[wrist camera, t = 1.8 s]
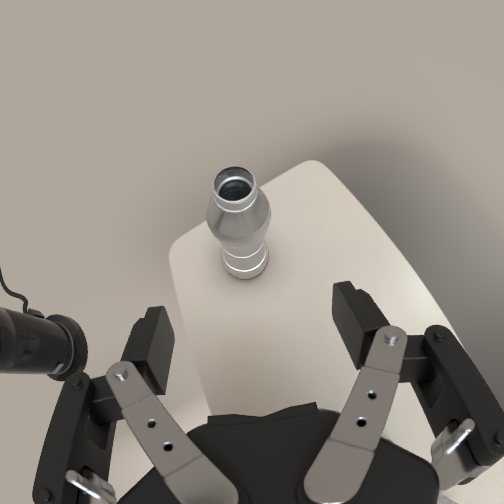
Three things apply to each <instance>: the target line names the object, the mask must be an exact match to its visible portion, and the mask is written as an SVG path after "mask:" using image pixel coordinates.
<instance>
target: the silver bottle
mask: <svg viewBox="0 0 504 504" xmlns="http://www.w3.org/2000/svg"><path fill="white" fill-rule="evenodd" d="M212 189H213V194H212V196H211V198H210V200H209V203H208V206H207V212H206V218H207V223H208V226H209V228H210V230H211V231H212V233H213V235H214V236H215V237H216V238H217V240H218V241H219V242H220V244H221V246H222V248H221V258H222V262H223V265H224V267H225V268H226V269H227V271H228V272H229V273H231V274H232V275H233V276H235V277H237V278H241V279H249V278H253V277H255V276H257V275H258V274H259V273H260V272H261V271H262V270H263V269H264V267H265V266H266V264H267V261H268V254H269V253H268V247H267V244H266V242H265V234H266V231H267V229H268V227H269V223H270V218H271V208H270V204H269V201H268V199H267V197H266V196H265V194H264V193H263V191H262V190H260V189H259V188H258V187H257V186H256V180H255V177H254V175H253V174H252V172H251V171H250V170H249V169H247V168H246V167H243V166H239V165H232V166H227V167H225V168H223V169H221V170H220V171H219V172H218V173H217V174H216V175H215V177H214V179H213V183H212Z"/></svg>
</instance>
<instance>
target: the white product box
mask: <svg viewBox="0 0 504 504" xmlns="http://www.w3.org/2000/svg"><path fill="white" fill-rule="evenodd" d="M437 504H457V503H455V502H453V501H452V500H450V499H449V498H447V497H446V496H444V495H442V494H439V495H438V500H437Z"/></svg>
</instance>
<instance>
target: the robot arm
mask: <svg viewBox="0 0 504 504" xmlns="http://www.w3.org/2000/svg"><path fill="white" fill-rule="evenodd" d="M0 282H1V285H2V287H3V289H4V290H5V291H6V293H8V294H9V295H11V296H13V297H16V298H19V299H21V300H23V302H24V304H23V313H20V312H16V311H12V310H9V309H5V308H1V307H0V373H8V374H57V375H58V374H64V373H66V372H68V371H69V370H70V369H71V367H72V365H73V363H74V360H75V353H76V349H75V342H74V338H73V336H72V334H71V332H70V330H69V329H68V328H67V327H66V326H65V325H64V324H63V323H61V322H57V321H50V320H47V319H44V318H45V317H44V316H43V314H42V313H41V312H39V311H36V310H33V309H28V312H27V305H28V301H27V299H26V298H25V297H24V296H23V295H21V294H17V293H15V292H12V291H10V290H9V289H8V288H7V286H6V285H5V283H4V281H3V278H2V274H1V269H0ZM332 316H333V320H334V323H335V325H336V327H337V329H338V331H339V333H340V335H341V337H342V339H343V342H344V344H345V346H346V348H347V350H348V352H349V354H350V357H351V359H352V361H353V363H354V365H355V368H356V370H359V369H361V370H360V372H359V375H358V377H357V379H356V382H355V384H354V386H353V389H352V391H351V393H350V395H349V398H348V400H347V402H346V404H345V406H344V408H343V410H342V413H339V412H336V411H332V410H326V409H318V408H317V405H316V402H313V403H308V404H303V405H298V406H292V407H288V408H285V409H283V410H280V411H278V412H275V413H272V414H269V415H267V416H263V417H257V416H246V415H237V414H229V415H216V416H208V423H207V424H204V425H201V426H198V427H196V428H194V429H192V430H191V431H189V432H188V433H187V434H185V433H184V431H183V430H182V429H181V428H180V427H179V425H178V424H177V423H176V422H175V420H174V419H173V418H172V417H171V415H170V414H169V413H168V411H167V410H166V409H165V407H164V406H163V405H162V403H161V402H160V401H159V399H158V398H157V397H156V396H157V395H165V392H166V386H167V380H168V374H169V369H170V363H171V358H172V352H173V347H174V340H175V338H174V332H173V328H172V326H171V323H170V320H169V317H168V314H167V311H166V309H165V307H164V306H157V307H149V308H148V309H147V312H146V315H145V317H144V318H140V319H139V320H138V321H137V322H136V323H135V324H134V325H133V328H132V331H131V335H130V336H129V338H128V341H127V344H126V346H125V349H124V352H123V355H122V357H121V360H120V362H117V363H115V364H114V365H112V366H111V367H110V368H109V369H108V371H107V373H106V375H105V376H101V377H97V378H93V379H90V377H89V376H88V375H87V374H86V373H84V372H76V373H73V374H71V375H70V376H69V377H68V378H67V379H66V380H65V383H64V385H63V388H62V390H61V393H60V396H59V398H58V401H57V404H56V407H55V410H54V413H53V416H52V419H51V422H50V425H49V428H48V431H47V435H46V438H45V441H44V445H43V449H42V452H41V456H40V460H39V464H38V468H37V473H36V477H35V481H34V486H33V492H32V497H33V501H34V503H35V504H437V500H438V495H439V493H441V492H443V491H445V490H447V489H449V488H451V487H452V486H454V485H456V484H458V485H464V484H467V483H469V482H471V481H472V480H473V479H475V478H476V477H478V476H479V475H480V474H482V473H483V472H485V471H486V470H487V469H488V468H490V467H491V466H492V465H494V464H495V463H496V462H497V461H499V460H500V459H501V458H502V457H503V456H504V412H503V410H502V408H501V407H500V405H499V403H498V402H497V400H496V398H495V396H494V395H493V393H492V392H491V390H490V388H489V387H488V385H487V384H486V382H485V380H484V379H483V377H482V375H481V374H480V372H479V371H478V369H477V368H476V366H475V365H474V363H473V362H472V360H471V359H470V357H469V356H468V354H467V353H466V352H465V350H464V349H463V347H462V346H461V344H460V343H459V342H458V340H457V339H456V338H455V336H454V335H453V333H452V332H451V331H450V330H449V329H448V328H446V327H444V326H441V325H432V326H430V327H428V328H427V329H426V331H425V333H424V335H407V334H406V333H405V332H404V331H403V330H402V329H401V328H399V327H396V326H391V325H390V323H389V322H388V320H387V319H386V317H385V316H384V315H383V313H382V312H381V310H380V309H379V308H378V306H377V305H376V303H375V302H374V300H373V299H372V298H371V296H370V295H369V294H368V293H366V292H365V291H363V290H362V289H358V290H356V289H355V288H354V286H353V285H352V283H351V282H350V281H344V282H338V283H334V285H333V298H332ZM405 382H410V383H411V385H412V387H413V389H414V391H415V393H416V396H417V398H418V400H419V402H420V404H421V406H422V409H423V411H424V413H425V415H426V417H427V420H428V422H429V424H430V427H431V429H432V431H433V434H434V436H435V438H436V439H435V440H434V442H433V444H432V446H431V456H432V463H431V464H430V463H429V462H428V461H426V460H425V459H423V458H421V457H419V456H417V455H415V454H413V453H411V452H409V451H407V450H405V449H403V448H402V447H400V446H398V445H396V444H394V443H392V442H391V441H389V440H387V439H385V438H383V437H382V436H381V435H382V432H383V429H384V426H385V424H386V421H387V418H388V415H389V412H390V409H391V406H392V402H393V399H394V396H395V393H396V389H397V386H398V383H405ZM122 419H125V420H126V422H127V424H128V425H129V427H130V429H131V430H132V432H133V434H134V435H135V437H136V439H137V440H138V442H139V444H140V445H141V447H142V448H143V450H144V452H145V453H146V454H147V456H148V458H149V459H150V460H151V462H152V463H153V465H154V467H153V468H152V469H151V470H150V471H149V472H148V473H147V474H146V475H145V476H144V477H143V478H142V479H141V480H140V481H138V482H137V483H136V485H134V486H133V487H132V488H131V489H130V490H129V491H128V492H127V493H126V494H125V495H124V496H123V497H121V498H120V500H119V501H118V502H116V497H115V491H114V489H113V487H112V486H111V484H109V483H108V476H109V468H110V461H111V453H112V447H113V440H114V434H115V429H116V423H117V421H118V420H122Z"/></svg>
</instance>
